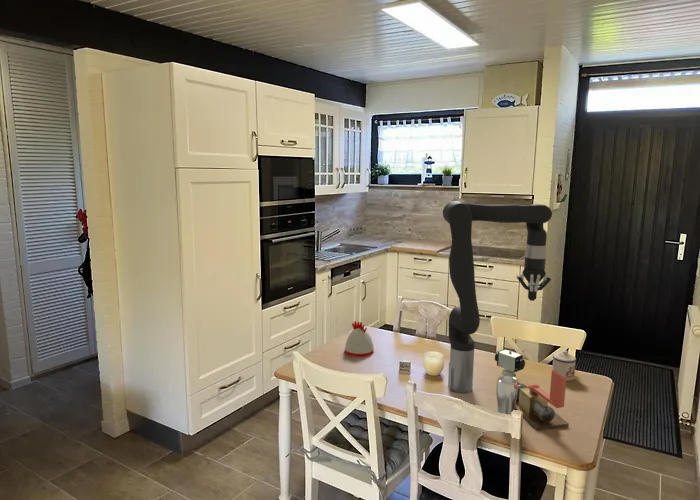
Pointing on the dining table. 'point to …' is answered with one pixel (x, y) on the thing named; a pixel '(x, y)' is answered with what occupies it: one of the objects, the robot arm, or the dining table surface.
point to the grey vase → (506, 394)
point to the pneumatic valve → (509, 362)
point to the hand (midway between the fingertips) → (531, 300)
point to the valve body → (537, 410)
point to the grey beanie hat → (359, 342)
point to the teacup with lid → (564, 364)
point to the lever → (553, 390)
